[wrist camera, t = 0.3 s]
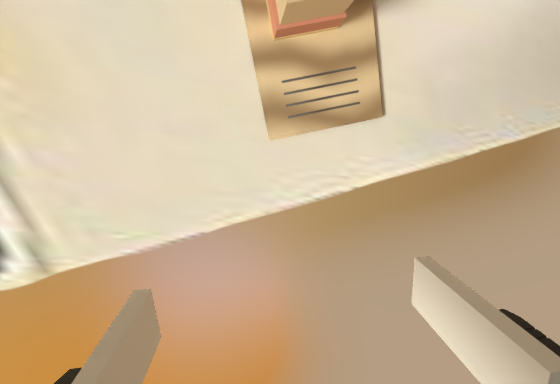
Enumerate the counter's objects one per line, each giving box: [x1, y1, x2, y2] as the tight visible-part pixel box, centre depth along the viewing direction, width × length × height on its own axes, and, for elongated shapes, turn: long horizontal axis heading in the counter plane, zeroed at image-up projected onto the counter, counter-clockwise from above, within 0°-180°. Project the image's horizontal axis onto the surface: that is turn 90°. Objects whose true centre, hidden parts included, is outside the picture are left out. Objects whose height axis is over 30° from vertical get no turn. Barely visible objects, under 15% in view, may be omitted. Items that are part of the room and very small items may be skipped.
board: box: [241, 0, 383, 140], centre depth 36 cm, size 18×16×1 cm
